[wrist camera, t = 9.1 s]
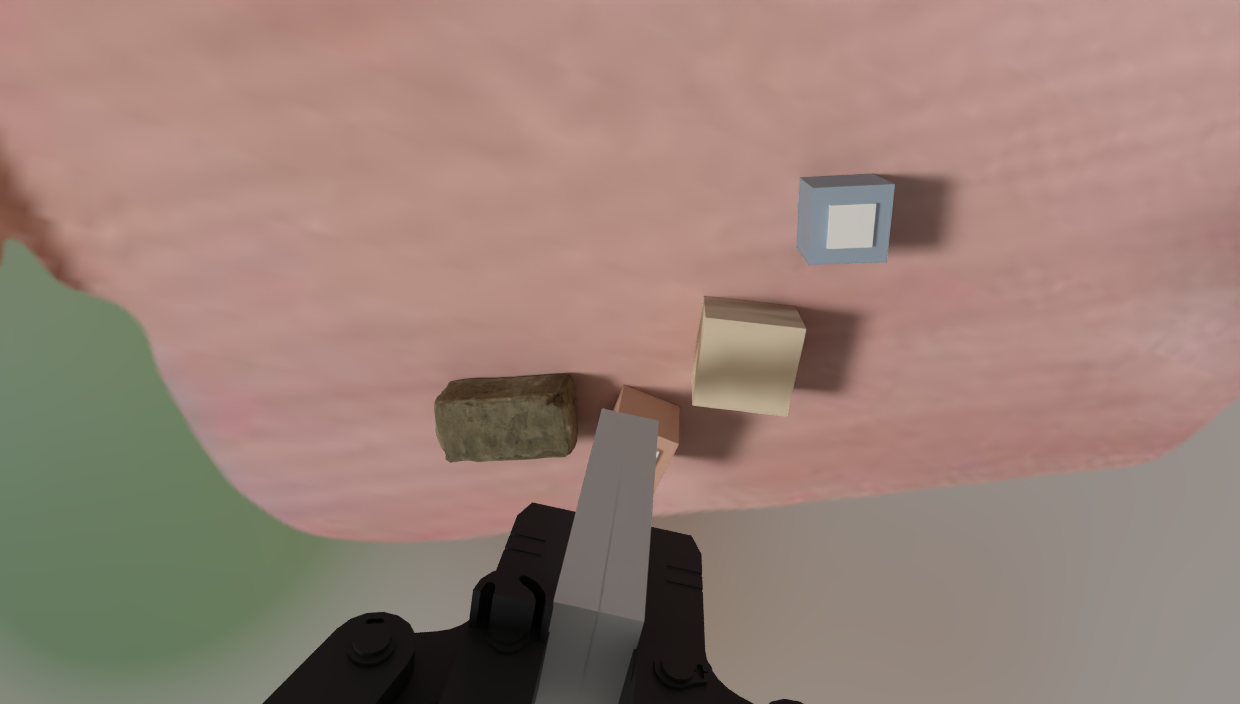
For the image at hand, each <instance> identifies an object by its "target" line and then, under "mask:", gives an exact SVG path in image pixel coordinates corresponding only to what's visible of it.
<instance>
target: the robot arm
mask: <svg viewBox="0 0 1240 704" xmlns="http://www.w3.org/2000/svg"><path fill="white" fill-rule="evenodd" d="M658 425H659V421H658V420H653V419H649V418H644V417H639V416H635V415H630V414H626V413H621V412H616V411H612V410H607V409H602V410H601V414H600V418H599V422H598V426H597V430H596V434H595V438H594V442H593V446H592V450H591V454H590V458H589V462H588V466H587V470H586V474H585V478H584V482H583V486H582V490H581V493H580V497H579V501H578V505H577V509H576V512H574V511H569V510H565V509H560V508H555V507H551V506H546V505H542V504H537V503H533V502H532V503H531V504H530V505H529V506H528V507H527V508H525V509H524V510H523V511H522V512H521V513H520V514H518V515H517V518H516V520H515V523H514V525H513V528H512V531H511V534H510V536H509V538H508V541H507V544H506V546H505V550H504V551H503V554H502V557H501V559H500V562H499V564H498V567H497V570H496V571H493V572H491V573H490V574H488V575H486V576H485V577H483V578H482V579H481V580H480V581H479V582H478V584H477V585H476V586H475V588H474V589H473V595H472V603H471V611H470V619H469V621H467V622H466V623H464V624H462V625H460V626H458V627H455V628H452V629H449V630H443V631H435V632H420V633H414V631H413V629H412V627H411V625H410V624H409V623H408V622H406V621H405V620H404V619H402V618H401V617H399V616H397V615H393V614H390V613H386V612H376V613H366V614H363V615H360V616H357V617H355V618H352V619H350V620H348V621H347V622H346V623H344V624H343V625H342V626H340V627H339V628H337V629H336V630H335V631H334V632H333V633H332V634H331V635H330V636H329V637H328V638H327V639H326V640H325V641H324V642H323V643H322V644H321V645H320V646H319V647H318V648H317V649H316V650H315V651H314V652H313V653H312V654H311V655H310V656H309V657H308V658H307V659H306V660H305V661H304V663H302V664H301V665H300V666H299V668H297V669H296V670H295V671H294V672H293V673H292V675H290V677H288V678H287V680H286V681H284V682H283V683H282V685H281V686H280V687H278V688H277V690H275V692H273V694H271V696H270V697H269V698H268V699H267V700H266V701H265V702H264V703H263V704H753V703H751V702H749V701H748V700H746V699H744V698H742V697H740V696H738V695H737V694H735V693H734V692H732V691H731V690H729V689H728V688H727V687H726V686H725V685H724V684H723V683H722V682H721V681H720V680H718V678H717V677H716V675H715V674H714V673H713V671H712V667H711V666H710V664H709V663H708V661H707V658H706V652H705V637H704V612H703V592H702V589H703V585H702V560H701V553H700V551H699V549H698V547H697V545H696V543H695V541H694V540H693V538H692V536H691V535H686V534H681V533H677V532H672V531H668V530H663V529H659V528H654V527H651V520H652V508H653V494H654V480H655V466H656V453H657V439H658ZM769 704H803V703H801V702H799V701H793V700H788V699H781V700H777V701H772V702H771V703H769Z"/></svg>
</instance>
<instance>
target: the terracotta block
mask: <svg viewBox="0 0 1240 704" xmlns="http://www.w3.org/2000/svg"><path fill="white" fill-rule="evenodd" d="M612 411H616V412H621V413H626V414H630V415H635V416H639V417H644V418H649V419H653V420H658V421H659V425H658V439H657V453H656V466H655V480H654V492H655V490H656V488H657V486H658V485H659V483H660V481H661V479H662V477H663V475H664V473H665V471H666V469H667V467H668V465H669V463H670V461H671V459H672V457H673V455H674V453H675V451H676V449H677V447H678V445H679V406H677V405H674V404H672V403H669V402H667V401H664V400H662V399H659V398H656V397H654V396H651V395H649V394H646V393H644V392H641V391H639V390H636V389H633V388H631V387H628V386H626V385H623V388H622V390H621V392H620V394H619V397H618V399H617V401H616V403H615V406H614V408H613V410H612Z"/></svg>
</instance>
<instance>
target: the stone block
mask: <svg viewBox="0 0 1240 704" xmlns="http://www.w3.org/2000/svg"><path fill="white" fill-rule="evenodd" d="M434 412H435V421H436V436H437V438H438V440H439V443H440V446H441V447H442V449H443V450H444V451H445V454H446V460H447V461H449V462H457V461H475V462H484V461H503V460H526V459H539V458H547V457H566V456H567V455H569V454H570V453H571V452H572V450H573V449H574V448H575V445H576V442H577V433H578V426H577V410H576V398H575V390H574V384H573V381H572V378H571V377H569V376H568V375H567V374H549V375H537V376H522V377H514V378H509V379H507V378H495V379H483V378H471V379H462V380H457V381H452V382H449V384H448V385H447V387H446V388H445V389H444V391H442V393H441V394H440V395H439V396H438V397H437V399H436V400H435V406H434Z"/></svg>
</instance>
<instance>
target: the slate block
mask: <svg viewBox="0 0 1240 704" xmlns="http://www.w3.org/2000/svg"><path fill="white" fill-rule="evenodd" d="M894 189H895V184H894V183H892V182H890V181H888V180H885V179H883V178H881V177H879V176H877V175H875V174H858V175H838V176H819V177H800V181H799V202H798V223H797V244H796V248H797V249H798V250H799V252H800V253H801V255H802V256H803V258H804V259H805V261H806V262H807V264H808V265H820V264H849V263H878V262H887V256H888V246H889V237H890V227H891V218H892V208H893V199H894Z"/></svg>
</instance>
